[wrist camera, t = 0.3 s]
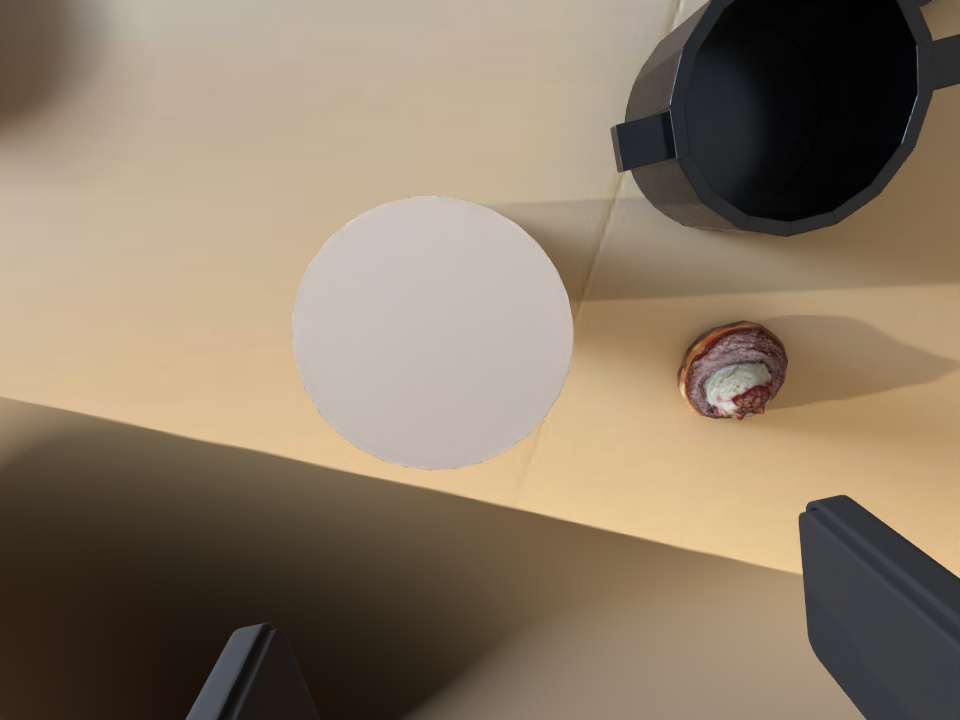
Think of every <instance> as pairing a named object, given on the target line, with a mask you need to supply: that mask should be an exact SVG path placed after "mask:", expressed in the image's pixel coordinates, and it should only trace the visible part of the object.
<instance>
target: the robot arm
mask: <svg viewBox="0 0 960 720" xmlns="http://www.w3.org/2000/svg"><path fill="white" fill-rule="evenodd" d="M799 531H800V543H801V556H802V568H803V579H804V592H805V605H806V617H807V629H808V637H809V641H810V644H811V646H812V649H813V651H814V652H815V654H816V656H817V658H818V659H819V660H820V662H821V663H822V664H823V665H824V667H825V668H826V669H827V670H828V672H829V673H830V674H831V676H832V677H833V678H834V679H835V680H836V682H837V683H838V684H839V686H840V687H841V688H842V689H843V691H844V692H845V693H846V694H847V695H848V697H849V698H850V699H851V701H852V702H853V703H854V704H855V706H856V707H857V708H858V709H859V711H860V712H861V713H862V714H863V716H864V717H865V718H866V719H867V720H960V578H958V577H957V576H956V575H954V574H953V573H951V572H950V571H949V570H947V569H946V568H945V567H943V566H942V565H941V564H939V563H938V562H937V561H935V560H934V559H932V558H931V557H930V556H928V555H927V554H926V553H924V552H923V551H922V550H920V549H919V548H918V547H916V546H915V545H913V544H912V543H911V542H909V541H908V540H907V539H905V538H904V537H903V536H901V535H900V534H899V533H897V532H896V531H895V530H893V529H892V528H890V527H889V526H888V525H886V524H885V523H884V522H882V521H881V520H880V519H878V518H877V517H876V516H874V515H873V514H871V513H870V512H869V511H867V510H866V509H865V508H863V507H862V506H861V505H859V504H858V503H857V502H855V501H854V500H852V499H851V498H849V497H848V496H846V495H838V496H834V497H829V498H825V499H820V500H816V501H811V502H809V503H808V504H807V506H806V512H803V513H801V514H800V515H799ZM186 720H320V718H319V715H318V713H317V710H316V708H315V706H314V703H313V701H312V698H311V696H310V693H309V691H308V688H307V686H306V684H305V681H304V678H303V676H302V673H301V671H300V669H299V666H298V664H297V661H296V659H295V656H294V654H293V651H292V649H291V646H290V644H289V642H288V639H287V637H286V635H285V633H284V631H283V630H282V629H275V627H274V626H273V625H272V624H271V623H263V624H258V625H254V626H250V627H245V628H240V629H238V630H236V631H235V632H234V633H233V634H232V636H231V638H230V639H229V641H228V643H227V645H226V647H225V648H224V651H223V652H222V654H221V656H220V658H219V660H218V661H217V663H216V665H215V667H214V669H213V670H212V673H211V674H210V676H209V678H208V680H207V682H206V683H205V685H204V687H203V689H202V691H201V693H200V694H199V696H198V698H197V700H196V702H195V703H194V705H193V707H192V709H191V711H190V713H189V715H188V716H187V718H186Z"/></svg>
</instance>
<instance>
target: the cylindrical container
mask: <svg viewBox="0 0 960 720" xmlns="http://www.w3.org/2000/svg"><path fill="white" fill-rule="evenodd" d="M292 343H293V350H294V357H295V363H296V366H297V369H298V372H299V375H300V377H301V380H302V383H303V386H304V389H305V390H306V392H307V394H308V395H309V397H310V399H311V400H312V402H313V404H314V405H315V407H316V409H317V410H318V412H319V413H320V414H321V415H322V416H323V418H324V419H325V420H326V421H327V422H328V423H329V424H330V425H331V426H332V427H333V429H334V430H335V431H336V432H337V433H338V434H340V435H341V436H342V437H344V438H345V439H346V440H348V441H349V442H350V443H352V444H353V445H354V446H356V447H357V448H359V449H360V450H362V451H364V452H366V453H368V454H370V455H372V456H374V457H376V458H379V459H381V460H383V461H386V462H390V463H393V464H396V465H400V466H403V467H408V468H417V469H425V470H440V469H456V468H460V467H464V466H469V465H473V464H477V463H481V462H483V461H486V460H488V459H490V458H492V457H494V456H497V455H499V454H501V453H503V452H506V451H507V450H508V449H510V448H511V447H513V446H514V445H515V444H517V443H518V442H520V441H521V440H522V439H524V438H525V437H527V436H528V435H529V434H530V433H531V432H532V431H533V430H534V429H535V428H536V426H537V425H538V424H539V423H540V422H541V421H542V420H543V419H544V418H545V417H546V415H547V414H548V412H549V411H550V409H551V408H552V406H553V404H554V403H555V401H556V400H557V398H558V397H559V395H560V392H561V390H562V387H563V385H564V382H565V380H566V377H567V375H568V372H569V367H570V362H571V357H572V352H573V319H572V314H571V309H570V304H569V299H568V295H567V292H566V290H565V288H564V285H563V283H562V281H561V278H560V276H559V274H558V271H557V269H556V267H555V266H554V265H553V263H552V262H551V260H550V259H549V258H548V256H547V255H546V253H545V252H544V251H543V249H542V248H541V246H540V245H539V244H538V243H537V242H536V241H535V240H534V239H533V238H532V237H531V236H529V235H528V234H527V233H526V232H525V231H524V230H523V229H522V228H521V227H520V226H519V225H517V224H516V223H514V222H513V221H511V220H509V219H508V218H506V217H504V216H503V215H501V214H499V213H497V212H496V211H494V210H492V209H490V208H487V207H484V206H481V205H479V204H476V203H473V202H470V201H467V200H462V199H456V198H449V197H443V196H424V197H408V198H404V199H400V200H396V201H393V202H389V203H385V204H381V205H379V206H377V207H375V208H373V209H371V210H369V211H367V212H365V213H363V214H361V215H359V216H357V217H355V218H353V219H352V220H350V221H349V222H348V223H347V224H345V225H344V226H343V227H342V228H341V229H339V230H338V231H337V232H336V233H334V234H333V235H332V236H331V237H330V238H329V239H328V240H327V241H326V243H325V244H324V245H323V246H322V248H321V249H320V250H319V252H318V253H317V254H316V255H315V257H314V258H313V259H312V261H311V262H310V265H309V267H308V269H307V271H306V273H305V275H304V277H303V279H302V281H301V283H300V285H299V289H298V293H297V297H296V300H295V304H294V308H293V318H292Z"/></svg>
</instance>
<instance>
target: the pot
mask: <svg viewBox="0 0 960 720" xmlns="http://www.w3.org/2000/svg"><path fill="white" fill-rule="evenodd" d="M931 37H932V35H931V33H930V31H929V29H928V26H927V24H926V22H925V19H924V17H923V15H922V13H921V10H920V8H919V6H918V3H917V1H916V0H709V1H708V2H707V3H706V4H705V5H704V6H702V7H701V8H700V9H699V10H698V11H696V12H695V13H694V14H693V15H692V16H691V17H689V18H688V19H687V20H686V21H685V22H683V23H682V24H681V25H680V26H679V27H678V28H676V29H675V30H674V31H673V32H672V33H670V34H669V35H668V36H667V37H666V38H665V39H663V40H662V41H661V42H660V43H659V44H658V45H657V47H656V48H655V50H654V51H653V53H652V54H651V56H650V57H649V58H648V60H647V61H646V63H645V64H644V66H643V67H642V69H641V71H640V73H639V75H638V77H637V79H636V81H635V83H634V85H633V88H632V91H631V93H630V97H629V101H628V105H627V109H626V116H625V123H622V124H618V125H615V126H613V127H611V135H612V141H613V147H614V153H615V159H616V165H617V171H618V172H623V171H627V170H631V172H632V175H633V177H634V179H635V181H636V183H637V185H638V187H639V188H640V190H641V191H642V193H643V194H644V195H645V197H646V198H647V199H648V200H649V201H650V202H651V203H652V204H653V206H654V207H655V208H657V209H658V210H659V211H661V212H662V213H663V214H664V215H666V216H668V217H669V218H671V219H673V220H675V221H677V222H679V223H680V224H682V225H684V226H689V227H695V228H701V229H708V230H714V231H721V232H733V233H745V234H757V235H769V236H782V237H789V236H793V235H797V234H801V233H805V232H809V231H813V230H817V229H821V228H825V227H828V226H832V225H835V224H838V223H839V222H840V221H842V220H843V219H845V218H846V217H848V216H849V215H851V214H852V213H853V212H855V211H856V210H858V209H859V208H861V207H862V206H864V205H865V204H867V203H868V202H869V201H871V200H872V199H874V198H875V197H877V196H878V195H879V194H880V193H881V192H882V191H883V189H884V188H885V187H886V185H887V184H888V183H889V181H890V180H891V179H892V177H893V176H894V175H895V173H896V172H897V171H898V169H899V168H900V167H901V166H902V164H903V163H904V162H905V160H906V159H907V158H908V156H909V155H910V154H911V152H912V151H913V148H915V145H916V142H917V139H918V136H919V134H920V131H921V128H922V125H923V122H924V119H925V116H926V113H927V110H928V107H929V104H930V101H931V98H932V93H933V90H937V89H941V88H945V87H949V86H952V85H956V84H960V34H958V35H955V36H951V37H947V38H943V39H939V40H936V41H932V38H931Z"/></svg>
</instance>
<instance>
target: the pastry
mask: <svg viewBox="0 0 960 720" xmlns="http://www.w3.org/2000/svg"><path fill="white" fill-rule="evenodd" d="M787 363H788V360H787V356H786V353H785V349H784V346H783V343H782V342H781V341H780V340H779V339H778V338H777V336H776V335H774V334H773V333H771V332H770V331H769V330H767V329H766V328H764V327H763V326H761V325H759V324H755V323H751V322H747V321H740V322H735V323H731V324H727V325H723V326H719V327H715V328H713V329H711V330H710V331H708V332H706V333H704V334H703V335H701V336H700V337H699V338H698V339H697V340H696V341H695V342H694V343H693V344H692V345H691V347H690V348H689V349H688V350H687V352H686V354H685V357H684V359H683V362H682V364H681V367H680V369H679V372H678V387H679V390H680V392H681V394H682V396H683V398H684V400H685V402H686V404H687V406H688V408H689V409H690V410H692V411H694V412H696V413H698V414H700V415H702V416H706V417H711V418H715V419H718V418H736V419H738V420H740V421H741V420H742V419H743V418H744V417H751V416H752V415H754V414H764V409H765V406H766V405H767V403H768V402H769V401H770V400H772V399H773V398H774V397H775V396H776V394H777V392H778V391H779V389H780V387H781V386H782V384H783V383H784V380H785V374H786V369H787Z"/></svg>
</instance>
